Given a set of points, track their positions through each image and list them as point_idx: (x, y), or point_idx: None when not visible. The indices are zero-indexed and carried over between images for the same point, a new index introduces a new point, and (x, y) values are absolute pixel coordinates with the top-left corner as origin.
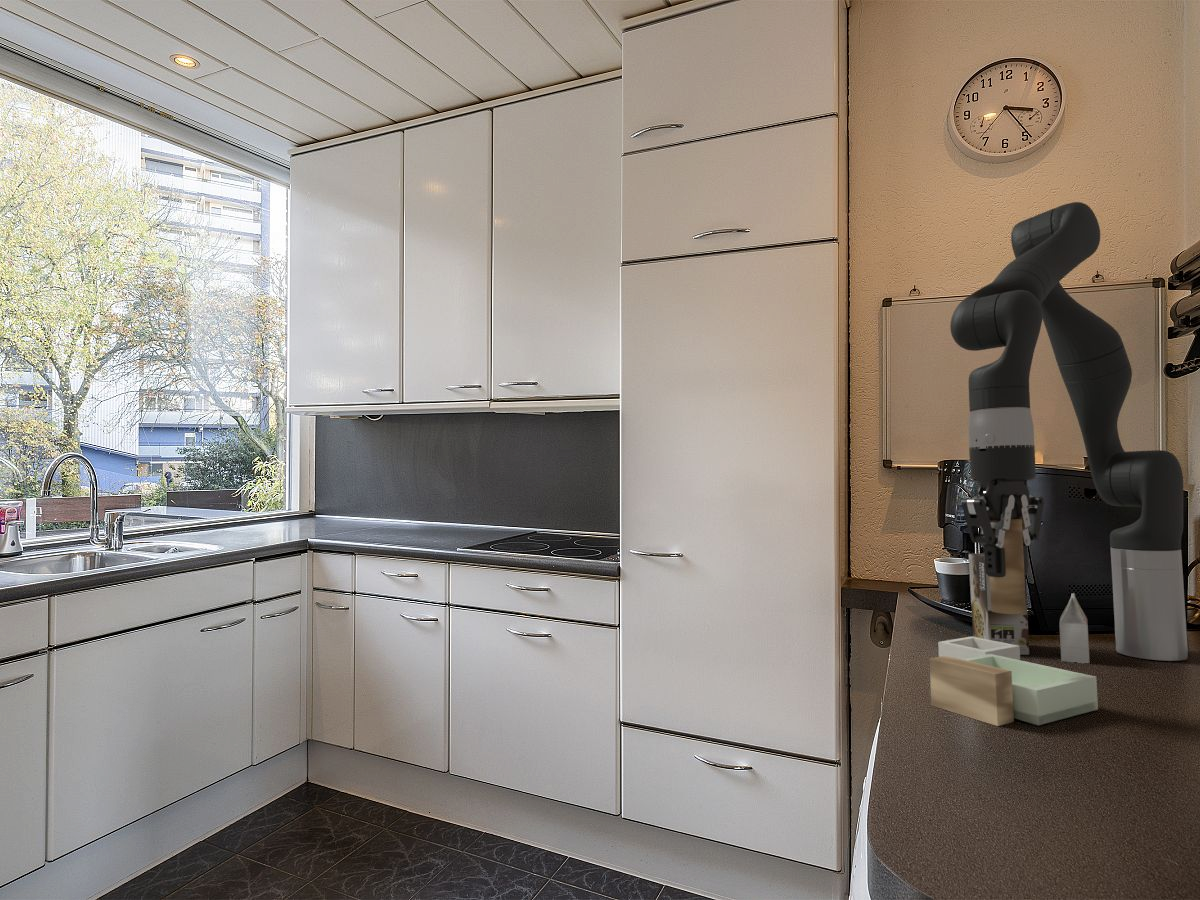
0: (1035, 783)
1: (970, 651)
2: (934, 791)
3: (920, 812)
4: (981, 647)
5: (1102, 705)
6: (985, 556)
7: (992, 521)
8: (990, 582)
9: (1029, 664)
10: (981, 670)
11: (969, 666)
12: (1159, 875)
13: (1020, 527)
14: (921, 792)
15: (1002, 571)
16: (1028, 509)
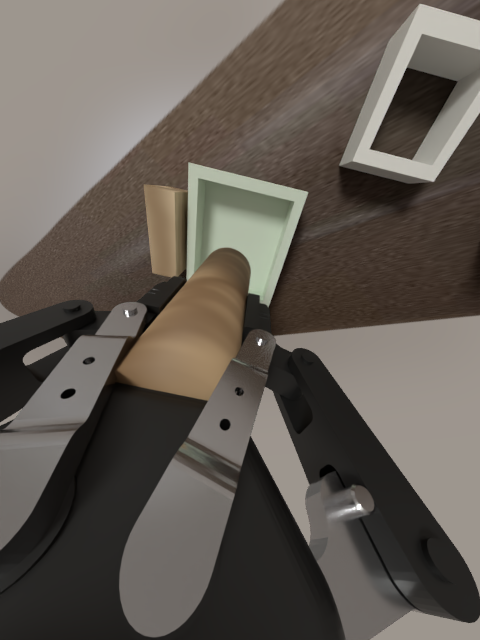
0: (112, 306)
1: (366, 124)
2: (53, 278)
3: (32, 284)
4: (467, 93)
5: (286, 293)
6: (143, 298)
7: None
8: (197, 269)
9: (278, 253)
10: (152, 258)
11: (154, 242)
12: None
13: None
14: (45, 274)
15: None
16: (310, 488)
